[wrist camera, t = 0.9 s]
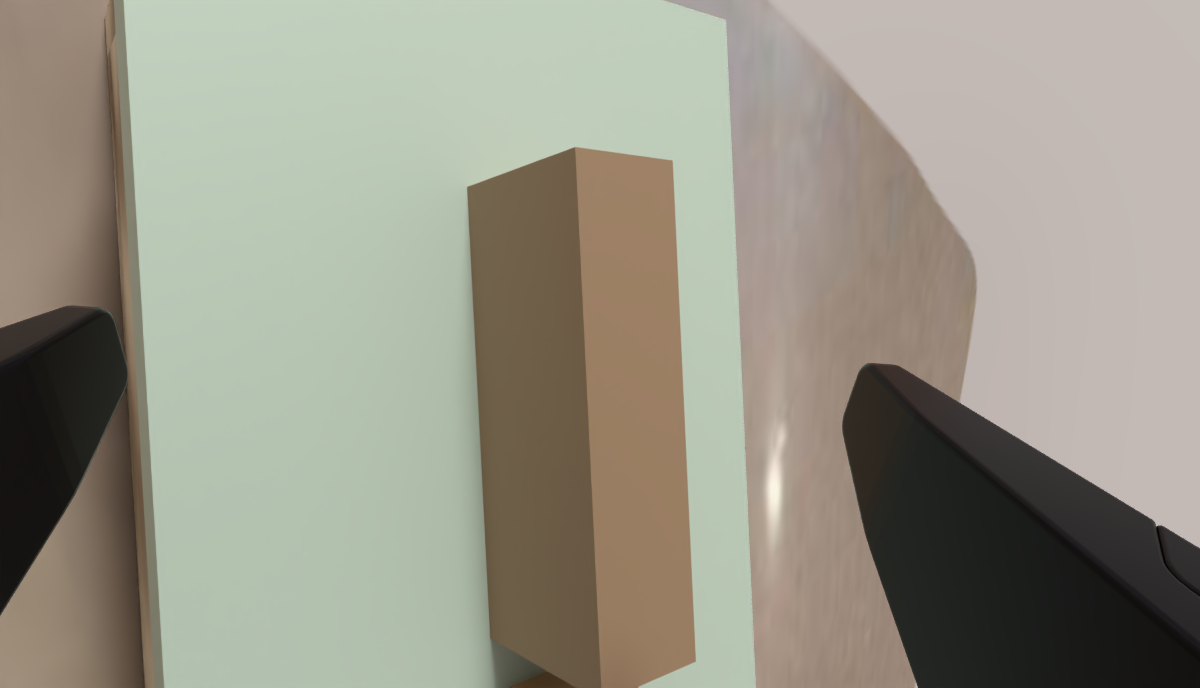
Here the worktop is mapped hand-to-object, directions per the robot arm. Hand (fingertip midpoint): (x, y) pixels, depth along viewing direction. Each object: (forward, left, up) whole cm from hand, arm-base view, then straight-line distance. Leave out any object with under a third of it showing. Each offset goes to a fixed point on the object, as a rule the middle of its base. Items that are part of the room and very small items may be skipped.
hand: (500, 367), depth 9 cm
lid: (-1, -5, -9) cm, 10 cm away
